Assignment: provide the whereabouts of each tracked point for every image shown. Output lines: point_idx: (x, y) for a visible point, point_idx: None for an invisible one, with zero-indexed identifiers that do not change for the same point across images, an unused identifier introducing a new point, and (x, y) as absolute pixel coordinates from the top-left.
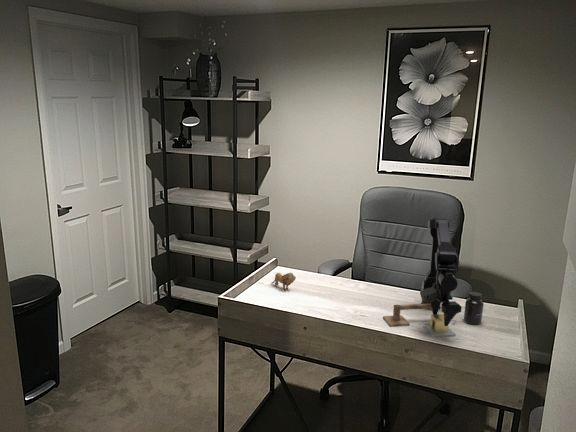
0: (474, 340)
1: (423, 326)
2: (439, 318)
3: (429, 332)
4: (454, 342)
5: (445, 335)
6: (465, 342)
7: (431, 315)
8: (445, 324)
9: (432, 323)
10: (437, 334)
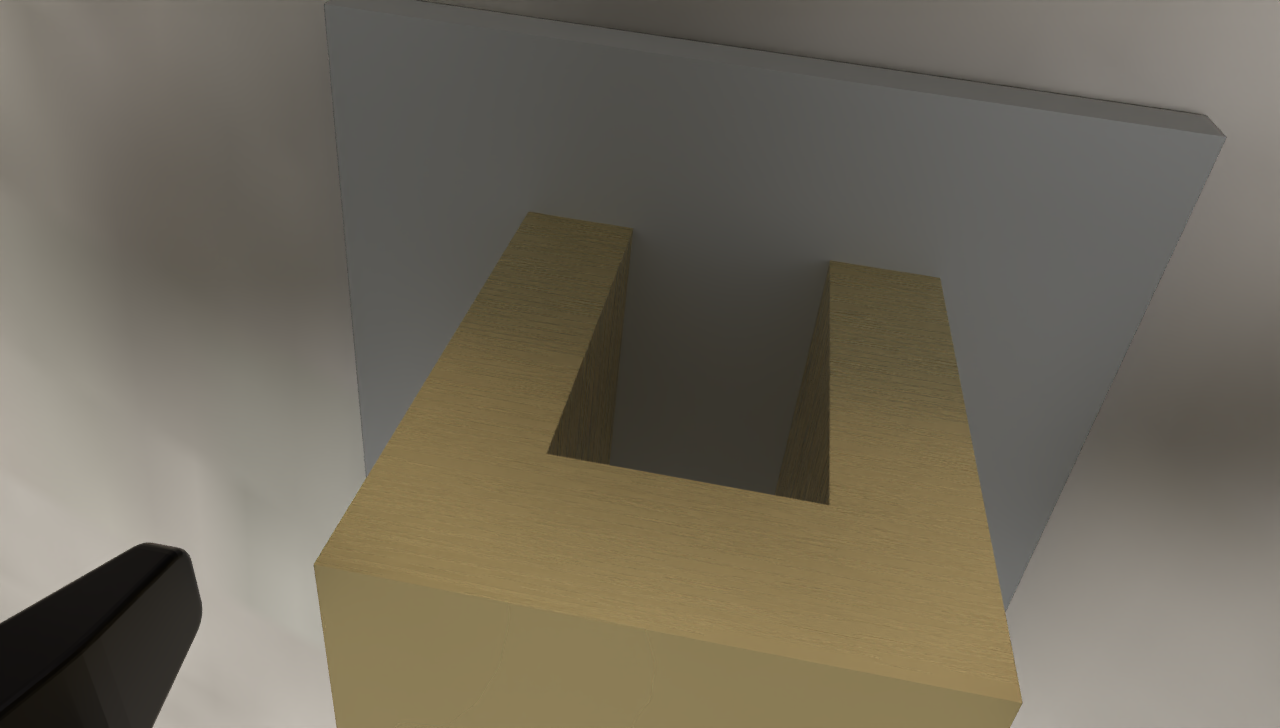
0: (205, 716)
1: (1178, 120)
2: (425, 711)
3: (653, 45)
4: (70, 362)
5: (363, 376)
6: (103, 553)
7: (1010, 651)
8: (74, 597)
9: (823, 386)
10: (411, 195)
